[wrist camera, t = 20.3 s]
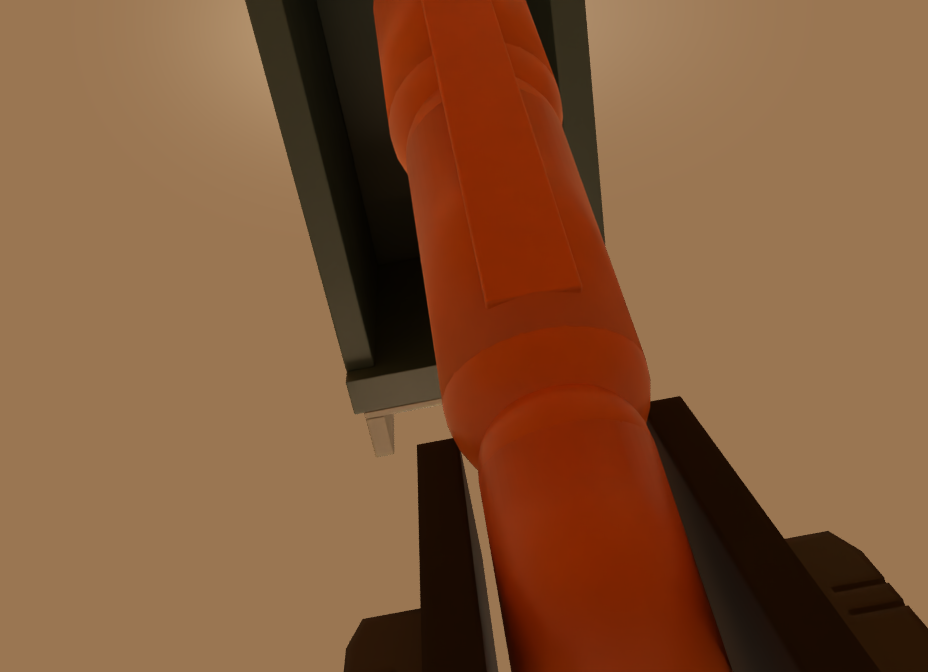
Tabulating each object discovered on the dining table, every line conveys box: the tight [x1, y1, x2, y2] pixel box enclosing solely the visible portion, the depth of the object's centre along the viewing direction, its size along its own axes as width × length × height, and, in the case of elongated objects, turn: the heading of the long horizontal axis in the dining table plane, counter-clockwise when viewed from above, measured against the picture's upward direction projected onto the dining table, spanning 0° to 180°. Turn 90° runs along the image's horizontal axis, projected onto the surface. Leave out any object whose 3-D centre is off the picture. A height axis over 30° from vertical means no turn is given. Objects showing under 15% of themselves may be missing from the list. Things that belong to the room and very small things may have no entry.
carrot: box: [373, 0, 733, 672], centre depth 17 cm, size 25×4×5 cm, turn 174°
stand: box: [245, 0, 605, 457], centre depth 41 cm, size 18×14×33 cm
